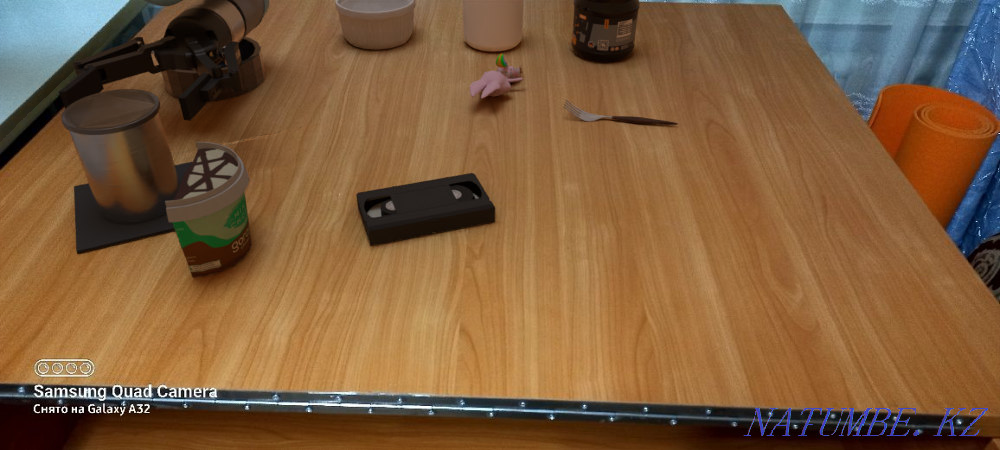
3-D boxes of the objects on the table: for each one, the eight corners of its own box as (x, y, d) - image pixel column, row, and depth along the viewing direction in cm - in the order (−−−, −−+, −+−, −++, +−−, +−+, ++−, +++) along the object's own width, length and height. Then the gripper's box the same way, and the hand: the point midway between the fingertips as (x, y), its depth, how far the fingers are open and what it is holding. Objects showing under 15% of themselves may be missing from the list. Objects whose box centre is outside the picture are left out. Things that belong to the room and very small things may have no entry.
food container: (251, 284, 75) (231, 202, 69) (188, 287, 74) (163, 204, 68) (271, 214, 85) (255, 137, 79) (216, 216, 84) (196, 139, 78)
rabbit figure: (494, 80, 118) (455, 105, 105) (496, 42, 115) (457, 63, 102) (531, 86, 116) (496, 112, 103) (534, 48, 113) (499, 70, 100)
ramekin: (403, 20, 135) (401, -19, 131) (428, 46, 125) (426, 5, 121) (331, 30, 130) (326, -9, 126) (351, 58, 121) (346, 16, 117)
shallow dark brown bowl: (161, 73, 115) (153, 43, 112) (256, 58, 120) (250, 28, 117) (172, 112, 105) (163, 80, 102) (275, 93, 110) (269, 62, 107)
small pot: (94, 190, 88) (60, 98, 81) (180, 172, 91) (154, 82, 84) (98, 234, 81) (61, 137, 74) (190, 213, 84) (163, 118, 77)
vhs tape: (474, 186, 90) (473, 172, 89) (495, 221, 84) (495, 207, 83) (357, 207, 86) (355, 192, 85) (370, 246, 80) (368, 231, 79)
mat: (74, 188, 89) (73, 186, 88) (197, 163, 94) (196, 160, 93) (77, 254, 78) (76, 251, 78) (214, 221, 84) (213, 218, 83)
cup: (480, 28, 132) (480, -29, 126) (531, 38, 128) (533, -20, 123) (453, 47, 125) (451, -12, 119) (506, 58, 121) (507, -2, 115)
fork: (677, 131, 102) (679, 118, 101) (562, 119, 104) (563, 106, 103) (677, 123, 104) (679, 110, 103) (564, 111, 106) (565, 98, 105)
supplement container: (580, 35, 129) (585, -34, 122) (640, 44, 126) (648, -27, 119) (562, 58, 121) (567, -15, 114) (625, 68, 118) (634, -7, 111)
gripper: (300, 64, 100) (241, 142, 83) (123, 56, 102) (29, 130, 85) (291, 10, 96) (227, 79, 79) (106, 2, 97) (4, 68, 80)
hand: (124, 106), depth 82 cm, fingers open, 13 cm apart
